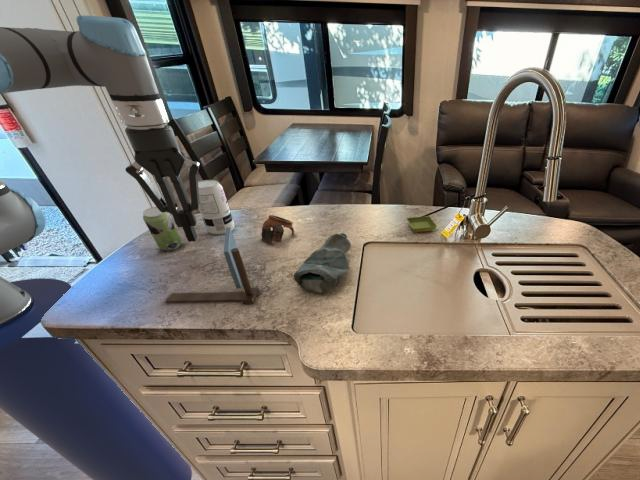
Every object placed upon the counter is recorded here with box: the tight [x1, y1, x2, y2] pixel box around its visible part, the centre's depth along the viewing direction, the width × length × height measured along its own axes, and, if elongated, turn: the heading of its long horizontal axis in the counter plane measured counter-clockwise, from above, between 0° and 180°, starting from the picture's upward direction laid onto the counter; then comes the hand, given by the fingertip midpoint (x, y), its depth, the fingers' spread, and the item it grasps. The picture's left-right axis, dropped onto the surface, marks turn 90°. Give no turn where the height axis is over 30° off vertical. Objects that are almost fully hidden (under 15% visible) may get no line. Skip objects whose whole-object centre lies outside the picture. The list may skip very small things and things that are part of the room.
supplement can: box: [198, 179, 235, 236], centre depth 100 cm, size 8×8×15 cm
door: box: [223, 227, 242, 290], centre depth 78 cm, size 13×2×10 cm, turn 21°
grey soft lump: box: [293, 233, 352, 294], centre depth 85 cm, size 13×7×25 cm
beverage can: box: [142, 206, 183, 251], centre depth 91 cm, size 6×7×12 cm
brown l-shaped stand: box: [165, 247, 260, 305], centre depth 72 cm, size 20×5×13 cm, turn 94°
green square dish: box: [406, 215, 438, 233], centre depth 109 cm, size 9×9×2 cm
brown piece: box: [261, 214, 295, 245], centre depth 99 cm, size 12×10×8 cm
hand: (192, 238), depth 75 cm, fingers closed
